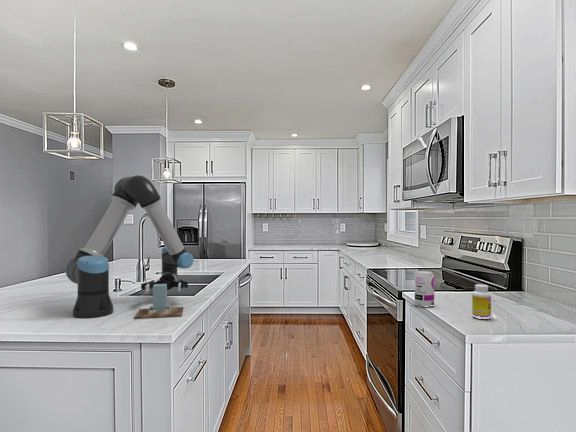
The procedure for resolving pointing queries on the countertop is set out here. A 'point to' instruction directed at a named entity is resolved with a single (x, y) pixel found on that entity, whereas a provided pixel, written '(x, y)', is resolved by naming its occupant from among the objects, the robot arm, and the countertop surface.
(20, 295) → the countertop surface
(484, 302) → the supplement bottle
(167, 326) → the countertop surface
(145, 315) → the board
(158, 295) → the blue-grey tall block
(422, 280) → the supplement can
